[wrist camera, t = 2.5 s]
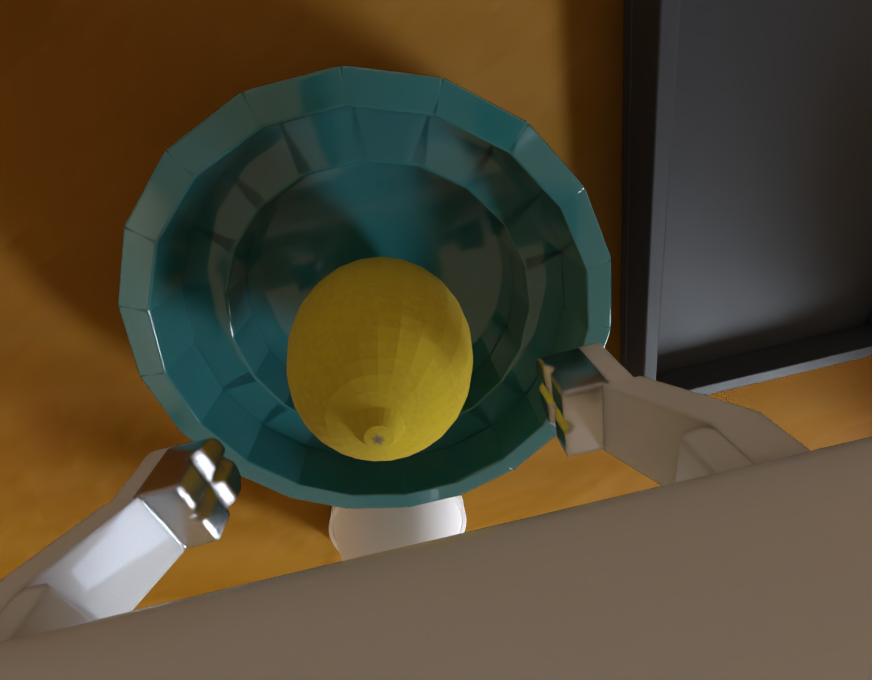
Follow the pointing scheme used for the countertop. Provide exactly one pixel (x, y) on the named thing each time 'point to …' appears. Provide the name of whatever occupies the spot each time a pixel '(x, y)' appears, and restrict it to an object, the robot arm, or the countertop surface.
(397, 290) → the lemon
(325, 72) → the bowl
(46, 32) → the countertop surface
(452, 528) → the vase
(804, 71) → the tray
